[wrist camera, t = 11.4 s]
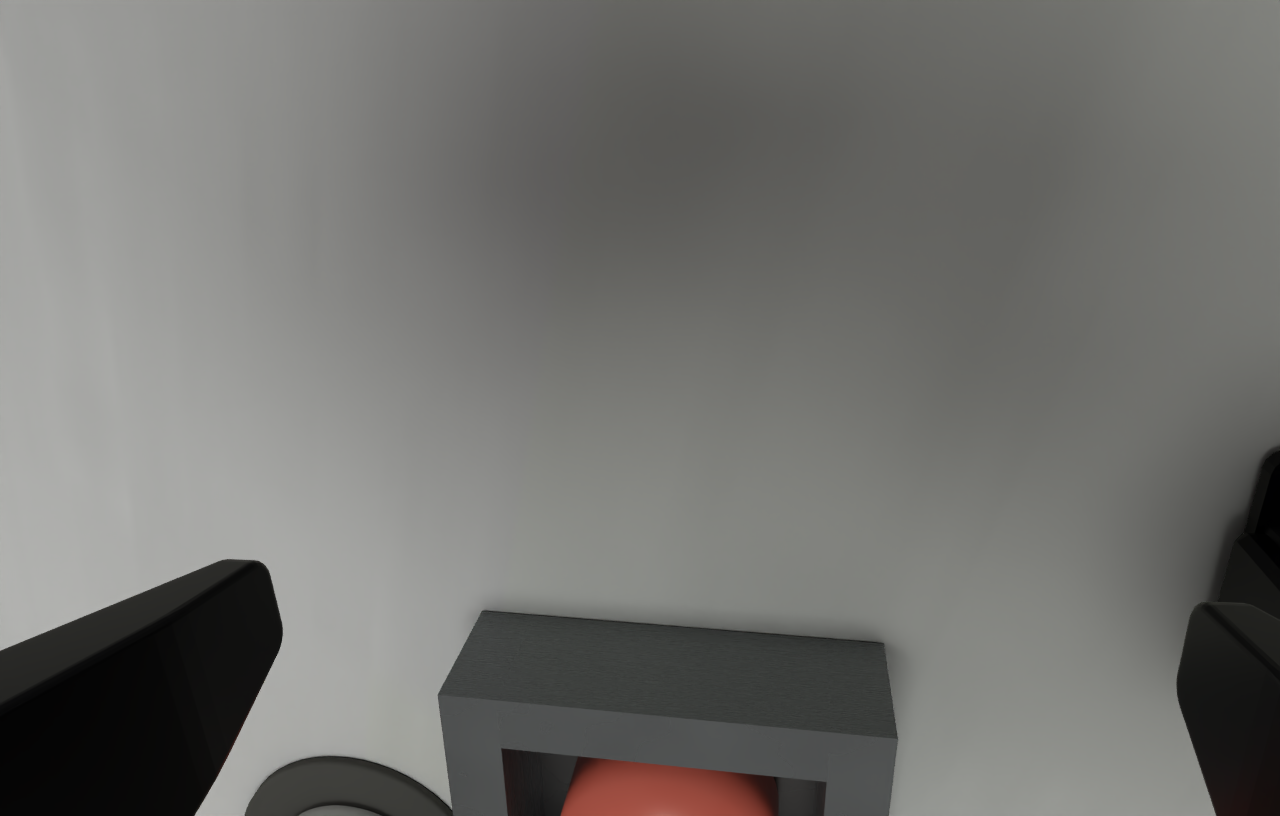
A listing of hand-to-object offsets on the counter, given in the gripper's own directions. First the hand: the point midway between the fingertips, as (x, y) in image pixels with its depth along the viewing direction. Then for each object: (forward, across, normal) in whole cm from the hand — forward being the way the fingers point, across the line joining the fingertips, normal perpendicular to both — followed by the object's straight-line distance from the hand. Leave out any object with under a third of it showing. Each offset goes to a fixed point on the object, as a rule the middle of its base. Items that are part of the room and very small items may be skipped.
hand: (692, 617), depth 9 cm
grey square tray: (+13, +2, +15) cm, 20 cm away
